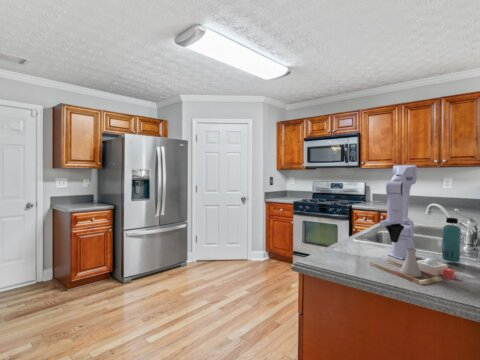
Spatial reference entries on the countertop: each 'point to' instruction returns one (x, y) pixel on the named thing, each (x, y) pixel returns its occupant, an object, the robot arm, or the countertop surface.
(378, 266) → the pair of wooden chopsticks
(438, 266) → the dome housing
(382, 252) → the countertop surface
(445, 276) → the red die
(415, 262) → the flask
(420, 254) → the countertop surface
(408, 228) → the robot arm
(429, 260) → the dome
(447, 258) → the beverage bottle
